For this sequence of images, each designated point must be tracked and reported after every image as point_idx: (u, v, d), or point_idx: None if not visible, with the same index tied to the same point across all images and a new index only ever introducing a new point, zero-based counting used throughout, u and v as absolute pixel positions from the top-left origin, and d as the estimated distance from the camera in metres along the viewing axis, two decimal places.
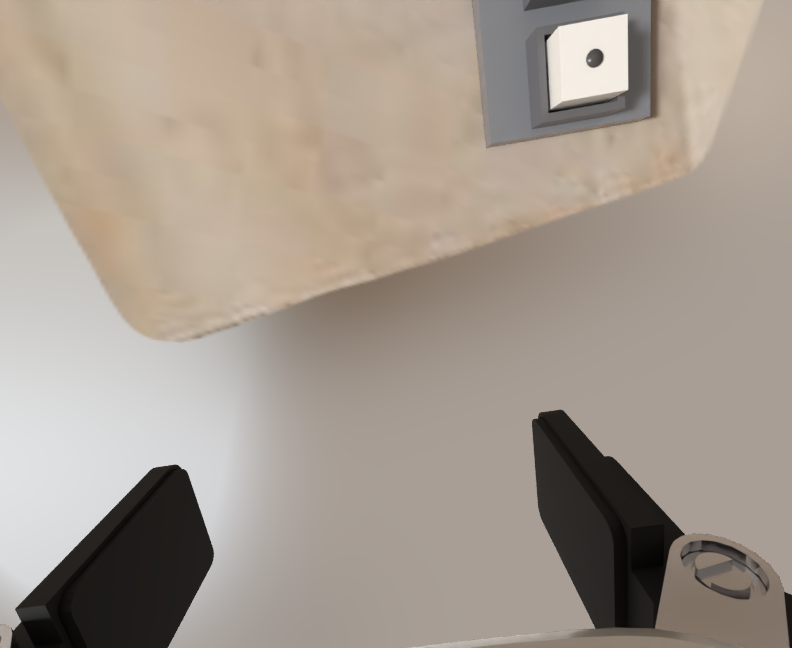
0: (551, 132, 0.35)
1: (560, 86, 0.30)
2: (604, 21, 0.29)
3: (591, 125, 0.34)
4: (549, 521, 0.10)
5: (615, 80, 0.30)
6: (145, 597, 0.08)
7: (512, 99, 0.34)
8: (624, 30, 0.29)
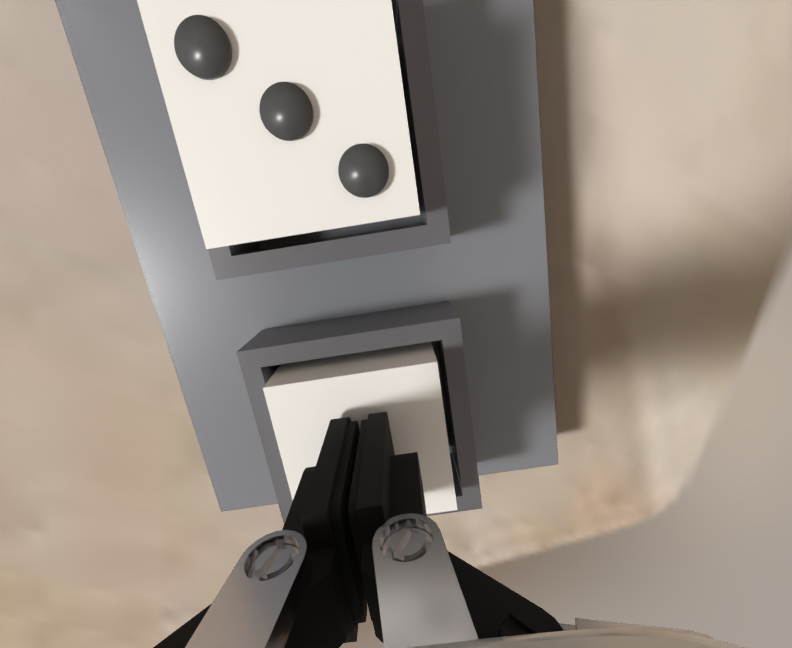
0: None
1: None
2: (379, 377, 0.11)
3: None
4: None
5: (424, 492, 0.12)
6: None
7: (252, 436, 0.15)
8: (433, 396, 0.11)
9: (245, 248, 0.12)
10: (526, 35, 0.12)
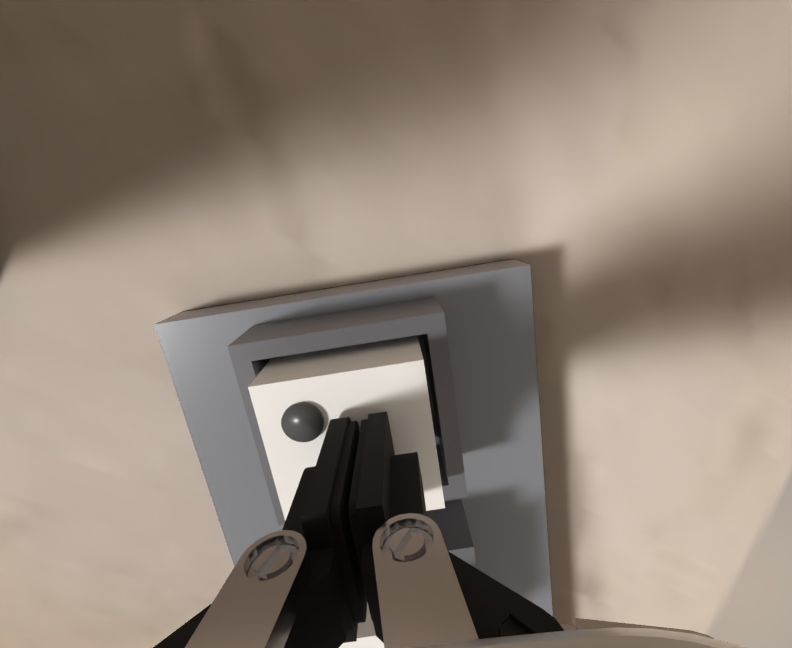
0: None
1: None
2: None
3: None
4: None
5: None
6: None
7: None
8: None
9: None
10: (540, 510, 0.17)
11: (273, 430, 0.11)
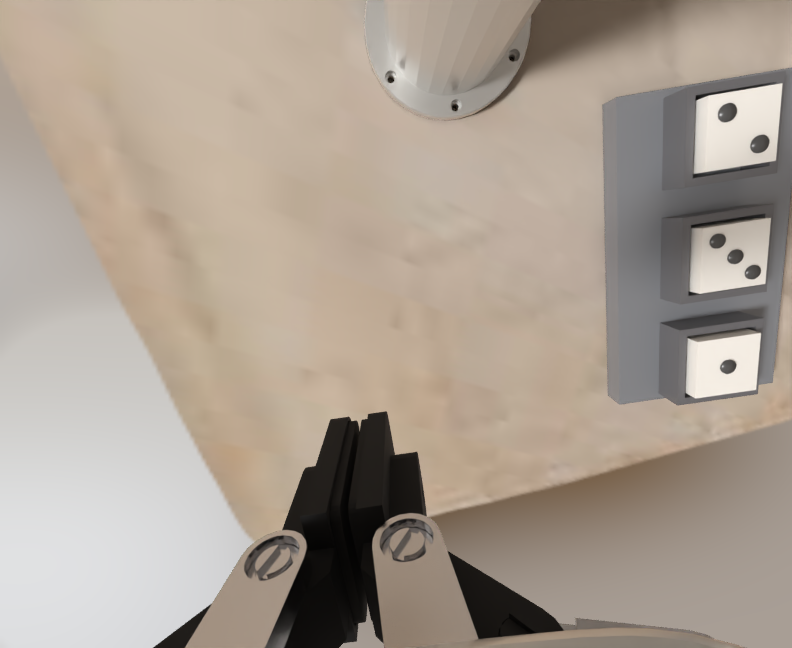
0: None
1: (693, 385, 0.33)
2: (739, 338, 0.31)
3: None
4: None
5: (745, 382, 0.32)
6: None
7: (642, 369, 0.36)
8: (757, 345, 0.32)
9: None
10: (785, 213, 0.32)
11: (713, 117, 0.27)
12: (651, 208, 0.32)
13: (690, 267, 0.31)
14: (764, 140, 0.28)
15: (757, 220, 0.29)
